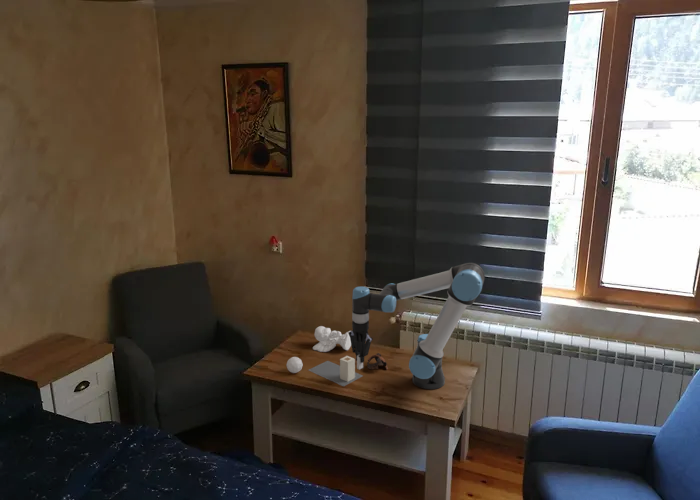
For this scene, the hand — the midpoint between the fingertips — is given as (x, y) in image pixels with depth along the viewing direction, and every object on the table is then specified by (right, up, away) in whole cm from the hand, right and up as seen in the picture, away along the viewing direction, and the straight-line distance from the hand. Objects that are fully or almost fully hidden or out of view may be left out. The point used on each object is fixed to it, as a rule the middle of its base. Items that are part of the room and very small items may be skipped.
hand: (360, 368), depth 251 cm
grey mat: (-12, -5, +12) cm, 18 cm away
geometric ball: (-32, -5, +14) cm, 35 cm away
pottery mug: (+9, -4, +18) cm, 21 cm away
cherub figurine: (-14, +2, +40) cm, 43 cm away
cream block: (-6, -6, +7) cm, 11 cm away
